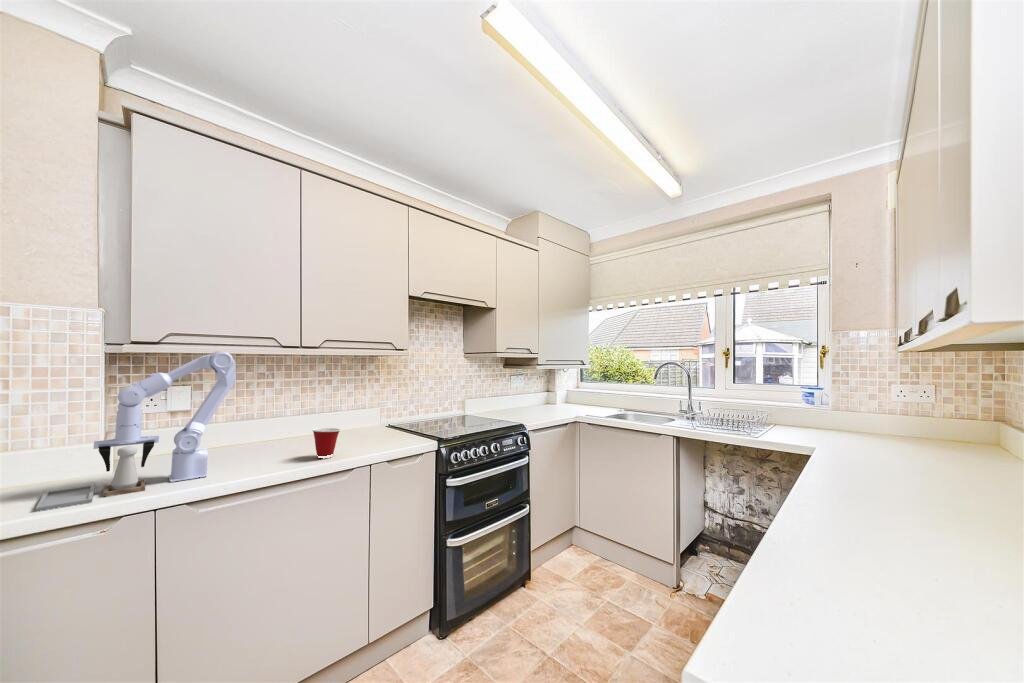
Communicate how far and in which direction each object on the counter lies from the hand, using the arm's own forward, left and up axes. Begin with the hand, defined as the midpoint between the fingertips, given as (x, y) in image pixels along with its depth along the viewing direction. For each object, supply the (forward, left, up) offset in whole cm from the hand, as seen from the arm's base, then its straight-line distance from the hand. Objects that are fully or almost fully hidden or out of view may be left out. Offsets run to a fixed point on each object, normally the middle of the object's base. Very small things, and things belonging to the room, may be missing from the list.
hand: (125, 468), depth 122 cm
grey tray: (+12, +4, -6) cm, 13 cm away
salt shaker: (0, +4, -6) cm, 7 cm away
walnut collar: (0, +4, -6) cm, 7 cm away
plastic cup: (-59, +2, -6) cm, 60 cm away
